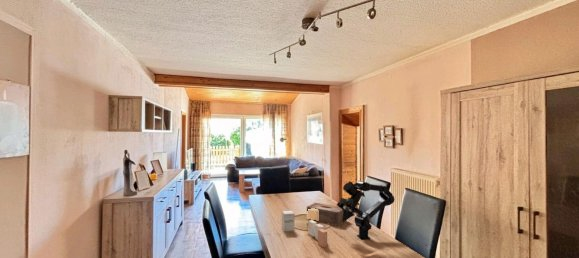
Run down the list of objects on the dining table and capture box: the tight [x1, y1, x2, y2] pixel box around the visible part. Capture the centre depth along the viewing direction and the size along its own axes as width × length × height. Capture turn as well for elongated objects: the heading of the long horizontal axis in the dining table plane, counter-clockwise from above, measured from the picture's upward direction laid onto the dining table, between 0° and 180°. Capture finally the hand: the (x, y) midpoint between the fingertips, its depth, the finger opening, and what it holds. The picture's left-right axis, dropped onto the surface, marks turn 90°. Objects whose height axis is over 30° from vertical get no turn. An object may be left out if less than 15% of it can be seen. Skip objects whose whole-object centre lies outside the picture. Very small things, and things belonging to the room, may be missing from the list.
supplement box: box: [281, 210, 295, 232], centre depth 180 cm, size 7×7×13 cm
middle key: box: [314, 223, 325, 241], centre depth 163 cm, size 3×5×8 cm, turn 28°
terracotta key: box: [317, 228, 328, 248], centre depth 154 cm, size 3×5×8 cm, turn 28°
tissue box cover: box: [306, 202, 344, 227], centre depth 203 cm, size 26×14×10 cm, turn 57°
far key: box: [307, 220, 318, 237], centre depth 170 cm, size 3×5×8 cm, turn 28°
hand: (342, 221), depth 161 cm, fingers closed
